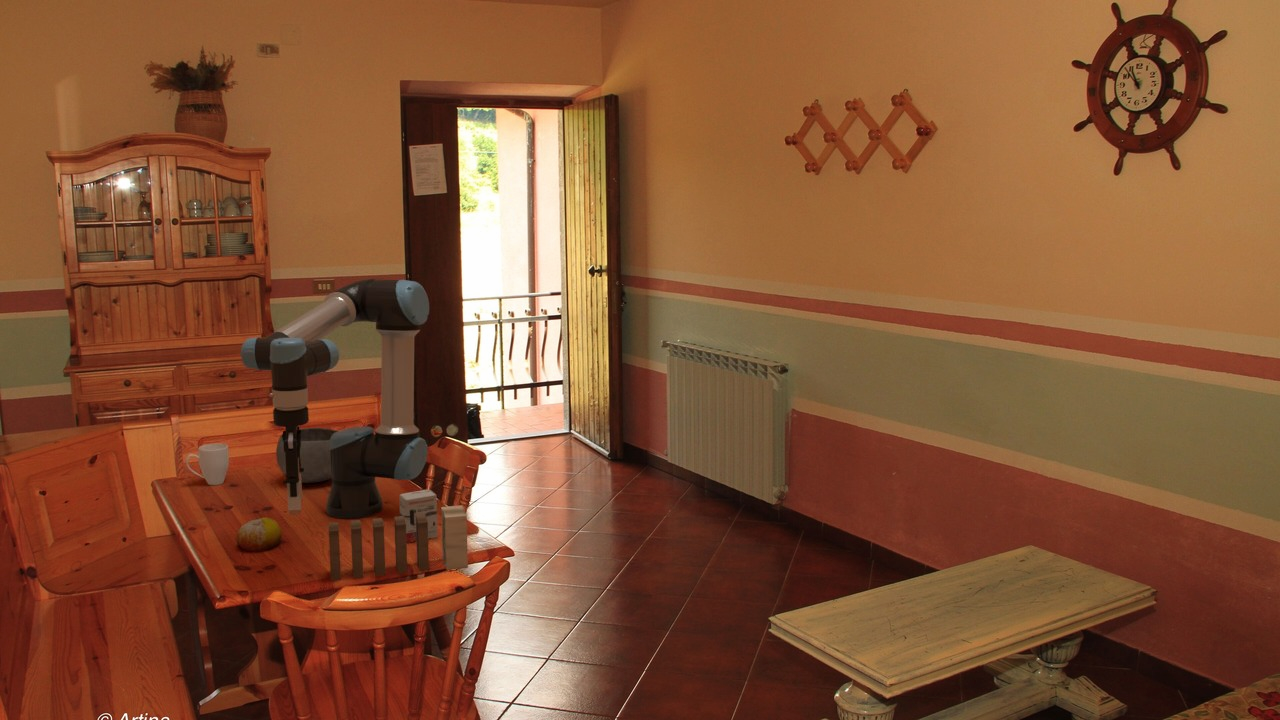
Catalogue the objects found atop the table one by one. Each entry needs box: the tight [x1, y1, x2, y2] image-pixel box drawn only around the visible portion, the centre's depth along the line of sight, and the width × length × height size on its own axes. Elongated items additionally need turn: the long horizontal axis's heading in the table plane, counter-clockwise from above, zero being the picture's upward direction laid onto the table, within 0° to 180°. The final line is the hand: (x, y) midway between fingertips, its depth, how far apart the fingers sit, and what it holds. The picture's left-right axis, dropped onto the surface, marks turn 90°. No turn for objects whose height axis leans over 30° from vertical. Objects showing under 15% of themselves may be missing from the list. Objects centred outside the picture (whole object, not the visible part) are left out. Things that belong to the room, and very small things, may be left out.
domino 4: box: [372, 517, 387, 577], centre depth 233 cm, size 6×2×12 cm, turn 18°
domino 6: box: [415, 514, 430, 572], centre depth 236 cm, size 6×2×12 cm, turn 18°
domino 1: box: [288, 457, 301, 516], centre depth 227 cm, size 6×2×12 cm, turn 16°
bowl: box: [275, 427, 339, 484], centre depth 302 cm, size 20×20×15 cm
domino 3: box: [350, 519, 364, 579], centre depth 231 cm, size 6×2×12 cm, turn 18°
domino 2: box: [328, 521, 342, 582], centre depth 230 cm, size 6×2×12 cm, turn 18°
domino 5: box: [393, 515, 408, 575], centre depth 234 cm, size 6×2×12 cm, turn 18°
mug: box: [185, 442, 230, 486], centre depth 298 cm, size 12×8×11 cm
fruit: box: [235, 516, 283, 553], centre depth 249 cm, size 11×10×8 cm
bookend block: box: [440, 504, 469, 571], centre depth 238 cm, size 8×5×13 cm, turn 18°
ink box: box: [399, 488, 438, 543], centre depth 255 cm, size 8×5×12 cm, turn 123°
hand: (295, 504), depth 227 cm, fingers closed on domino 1, 6 cm apart
